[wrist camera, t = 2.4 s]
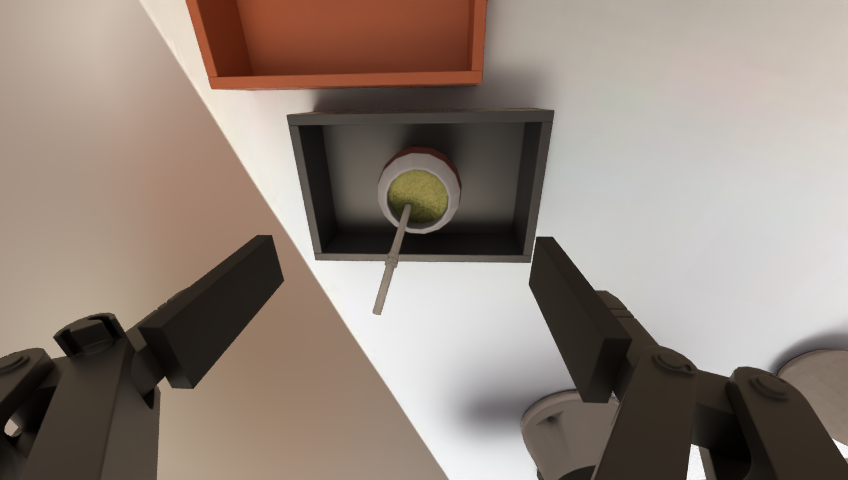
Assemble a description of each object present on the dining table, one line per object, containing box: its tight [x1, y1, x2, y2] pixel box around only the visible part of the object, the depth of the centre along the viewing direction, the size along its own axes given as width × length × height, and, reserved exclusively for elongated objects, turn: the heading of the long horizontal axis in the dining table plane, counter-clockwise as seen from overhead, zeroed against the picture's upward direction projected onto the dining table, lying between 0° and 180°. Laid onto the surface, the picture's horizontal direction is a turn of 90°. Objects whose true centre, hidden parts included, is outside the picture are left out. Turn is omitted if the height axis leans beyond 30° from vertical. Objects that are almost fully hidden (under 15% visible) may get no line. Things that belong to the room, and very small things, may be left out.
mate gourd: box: [373, 145, 462, 315], centre depth 23 cm, size 8×8×15 cm
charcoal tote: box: [287, 108, 554, 263], centre depth 28 cm, size 13×21×5 cm, turn 91°
